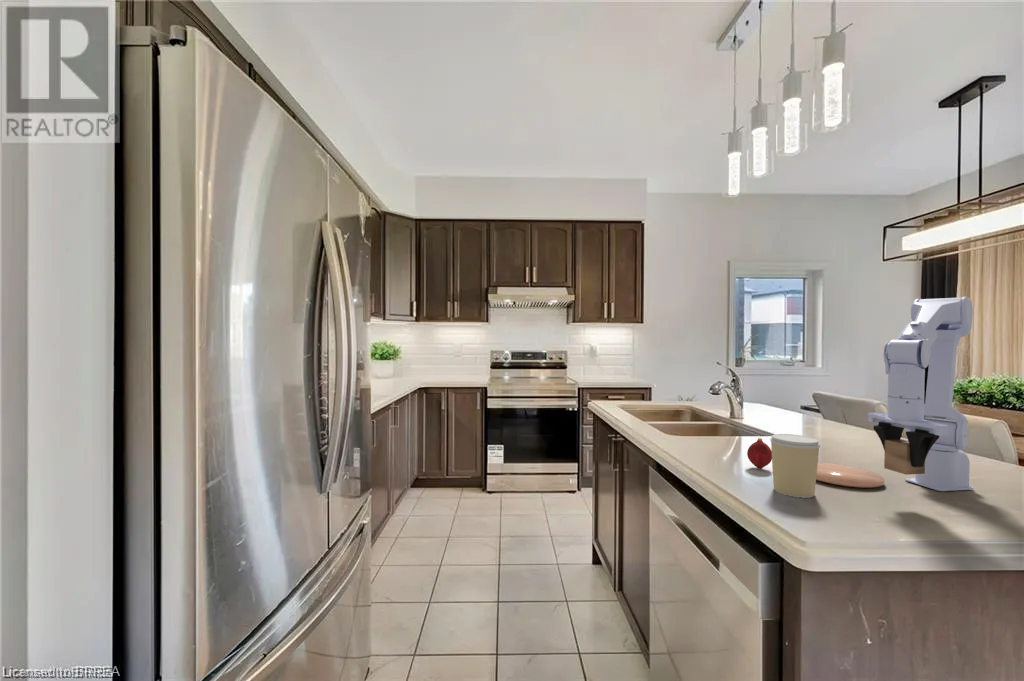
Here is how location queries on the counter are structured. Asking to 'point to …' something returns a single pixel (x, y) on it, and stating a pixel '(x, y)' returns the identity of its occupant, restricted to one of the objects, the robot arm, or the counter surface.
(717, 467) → the counter surface
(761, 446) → the onion
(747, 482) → the counter surface
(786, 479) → the coffee cup
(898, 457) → the block
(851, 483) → the dish
